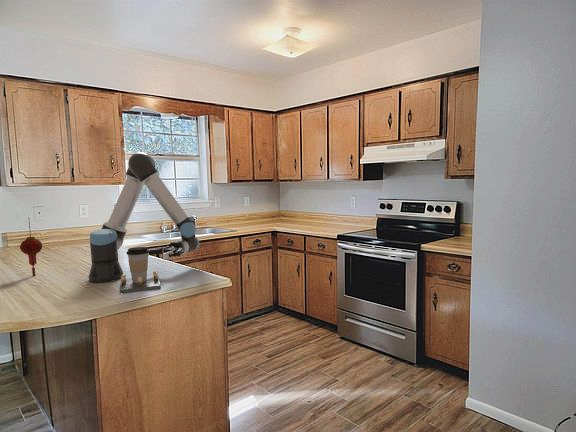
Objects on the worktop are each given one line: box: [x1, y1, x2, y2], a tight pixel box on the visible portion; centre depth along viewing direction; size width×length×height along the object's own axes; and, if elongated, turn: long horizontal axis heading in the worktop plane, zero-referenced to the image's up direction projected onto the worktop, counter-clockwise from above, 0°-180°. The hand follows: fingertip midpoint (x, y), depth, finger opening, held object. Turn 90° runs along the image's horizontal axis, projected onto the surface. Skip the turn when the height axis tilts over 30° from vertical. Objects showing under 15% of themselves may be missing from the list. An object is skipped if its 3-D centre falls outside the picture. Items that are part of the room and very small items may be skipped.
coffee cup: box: [126, 246, 149, 283], centre depth 169 cm, size 9×9×15 cm
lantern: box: [19, 216, 43, 277], centre depth 192 cm, size 10×10×30 cm
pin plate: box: [119, 270, 161, 295], centre depth 169 cm, size 20×16×6 cm
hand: (151, 256), depth 176 cm, fingers open, 13 cm apart
